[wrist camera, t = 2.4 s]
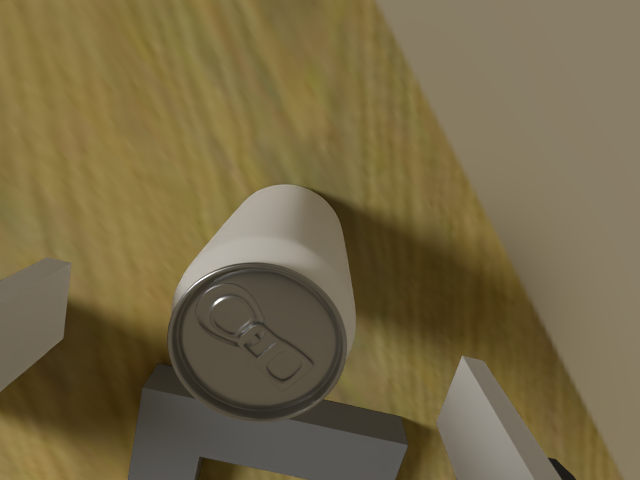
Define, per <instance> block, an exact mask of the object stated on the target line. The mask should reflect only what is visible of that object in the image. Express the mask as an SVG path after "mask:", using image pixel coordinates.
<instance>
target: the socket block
mask: <svg viewBox="0 0 640 480" xmlns="http://www.w3.org/2000/svg"><path fill="white" fill-rule="evenodd" d="M407 447H408V442H407V438H406V434H405V430H404V427H403V423H402V419H401V417H399V416H395V415H390V414H386V413H381V412H377V411H372V410H367V409H363V408H358V407H354V406H349V405H345V404H340V403H336V402H331V401H327V400H322V401H321V402H320V403H318V404H317V405H316V406H314V407H313V408H311V409H310V410H308V411H306V412H304V413H302V414H300V415H298V416H295V417H293V418H289V419H286V420H282V421H276V422H267V423H256V422H246V421H240V420H236V419H232V418H229V417H226V416H224V415H221V414H219V413H217V412H215V411H213V410H211V409H209V408H208V407H206V406H205V405H203V404H202V403H201V402H199V401H198V400H197V399H196V398H195V397H193V396H192V395H191V394H190V393H189V391H188V390H187V389H186V388H185V387H184V385H183V384H182V383H181V381H180V380H179V378H178V376H177V375H176V373H175V371H174V368H173V366H169V365H164V364H160V363H158V364H157V366H156V368H155V369H154V371H153V372H152V374H151V375H150V377H149V378H148V380H147V381H146V383H145V385H144V386H143V388H142V394H141V400H140V407H139V413H138V419H137V425H136V431H135V438H134V444H133V450H132V456H131V463H130V469H129V475H128V480H198V478H199V474H200V469H201V465H202V460H203V457H204V458H208V459H213V460H218V461H223V462H228V463H232V464H237V465H242V466H247V467H252V468H256V469H261V470H266V471H271V472H276V473H280V474H285V475H290V476H295V477H300V478H305V479H309V480H395V479H396V476H397V473H398V471H399V468H400V465H401V463H402V460H403V458H404V455H405V452H406V450H407Z"/></svg>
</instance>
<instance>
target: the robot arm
mask: <svg viewBox="0 0 640 480" xmlns="http://www.w3.org/2000/svg"><path fill="white" fill-rule="evenodd" d="M70 271H71V263H69V262H65V261H61V260H56V259H52V258H48V257H47V258H45V259H43V260H41V261H39V262H37V263H35V264H33V265H31V266H29V267H27V268H25V269H23V270H21V271H19V272H17V273H15V274H13V275H11V276H9V277H7V278H5V279H3V280H1V281H0V392H1V391H2V390H3V389H4V388H6V387H7V386H8V385H9V384H10V383H11V382H13V381H14V380H15V379H16V378H17V377H19V376H20V375H21V374H22V373H23V372H24V371H26V370H27V369H28V368H29V367H30V366H31V365H33V364H34V363H35V362H36V361H37V360H39V359H40V358H41V357H42V356H43V355H44V354H46V353H47V352H48V351H49V350H50V349H52V348H53V347H54V346H55V345H56V344H57V343H59V342H60V341H61V340H62V339H63V337H64V328H65V318H66V309H67V299H68V290H69V280H70ZM436 424H437V427H438V429H439V432H440V435H441V438H442V440H443V443H444V446H445V448H446V451H447V454H448V457H449V459H450V462H451V465H452V467H453V470H454V473H455V476H456V478H457V480H576V479H575V478H574V476H573V475H572V474H571V473H570V472H569V471H568V470H566V469H565V468H564V467H563V466H562V465H561V464H560V463H559V462H558V461H557V460H556V459H552V458H547V456H546V455H545V453H544V452H543V450H542V449H541V447H540V446H539V444H538V443H537V441H536V440H535V438H534V436H533V435H532V433H531V432H530V430H529V429H528V427H527V426H526V424H525V423H524V421H523V420H522V418H521V417H520V415H519V414H518V412H517V411H516V409H515V408H514V406H513V405H512V403H511V402H510V400H509V399H508V397H507V395H506V394H505V392H504V391H503V389H502V388H501V386H500V385H499V383H498V382H497V380H496V379H495V377H494V376H493V374H492V373H491V371H490V370H489V368H488V367H487V365H486V364H485V362H484V361H482V360H478V359H474V358H470V357H465V356H462V357H461V360H460V363H459V365H458V368H457V370H456V373H455V376H454V378H453V381H452V383H451V386H450V388H449V391H448V394H447V396H446V399H445V401H444V404H443V406H442V409H441V412H440V414H439V417H438V419H437V422H436Z"/></svg>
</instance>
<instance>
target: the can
mask: <svg viewBox="0 0 640 480" xmlns="http://www.w3.org/2000/svg"><path fill="white" fill-rule="evenodd" d="M355 328H356V311H355V302H354V295H353V288H352V282H351V276H350V270H349V264H348V258H347V253H346V247H345V241H344V236H343V231H342V227H341V224H340V221H339V219H338V217H337V215H336V213H335V211H334V210H333V208H332V207H331V206H330V205H329V204H328V203H327V202H326V201H325V200H324V199H323V198H322V197H321V196H319V195H318V194H316V193H315V192H313V191H311V190H309V189H306V188H303V187H300V186H296V185H275V186H270V187H267V188H264V189H261V190H259V191H257V192H255V193H254V194H252V195H251V196H250V197H248V198H247V199H246V200H245V201H244V202H243V203H242V204H241V205H240V207H239V208H238V209H237V210H236V211H235V212H234V213H233V215H232V216H231V217H230V218H229V219H228V220H227V221H226V223H225V224H224V225H223V226H222V227H221V228H220V230H219V231H218V232H217V233H216V234H215V235H214V237H213V238H212V239H211V240H210V241H209V242H208V244H207V245H206V246H205V247H204V248H203V250H202V251H201V252H200V253H199V254H198V256H197V257H196V258H195V259H194V261H193V262H192V263H191V265H190V266H189V267H188V269H187V270H186V271H185V273H184V275H183V276H182V278H181V280H180V282H179V284H178V286H177V289H176V291H175V294H174V298H173V303H172V310H171V319H170V322H169V327H168V336H167V342H168V351H169V356H170V360H171V363H172V366H173V368H174V371H175V373H176V375H177V376H178V378H179V380H180V381H181V383H182V384H183V385H184V387H185V388H186V389H187V390H188V391H189V393H190V394H191V395H192V396H193V397H195V398H196V399H197V400H198V401H199V402H201V403H202V404H203V405H205V406H206V407H208V408H209V409H211V410H213V411H215V412H217V413H219V414H221V415H224V416H226V417H229V418H232V419H236V420H240V421H246V422H256V423H267V422H276V421H282V420H286V419H289V418H293V417H295V416H298V415H300V414H302V413H304V412H306V411H308V410H310V409H311V408H313V407H314V406H316V405H317V404H318V403H320V402H321V401H322V400H323V399H324V398H325V397H326V396H327V395H328V394H329V393H330V392H331V390H332V389H333V388H334V386H335V385H336V383H337V382H338V380H339V378H340V376H341V374H342V371H343V368H344V365H345V361H346V359H347V357H348V355H349V353H350V350H351V348H352V344H353V341H354V336H355Z"/></svg>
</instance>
